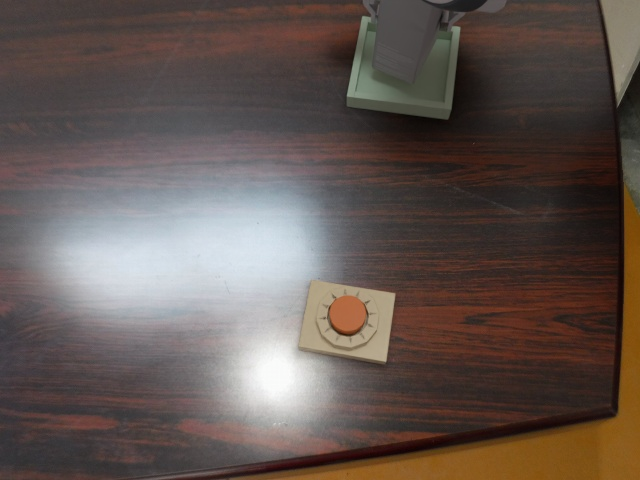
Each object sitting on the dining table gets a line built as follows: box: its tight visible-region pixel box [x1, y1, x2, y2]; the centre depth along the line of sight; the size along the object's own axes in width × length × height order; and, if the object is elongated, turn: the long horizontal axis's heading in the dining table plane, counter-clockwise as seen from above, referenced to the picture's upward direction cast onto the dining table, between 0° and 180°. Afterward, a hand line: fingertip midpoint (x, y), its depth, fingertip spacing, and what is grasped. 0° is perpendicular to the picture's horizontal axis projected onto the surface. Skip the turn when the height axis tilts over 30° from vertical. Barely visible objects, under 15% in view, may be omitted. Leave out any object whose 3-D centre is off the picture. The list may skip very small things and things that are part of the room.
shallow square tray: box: [346, 15, 461, 120], centre depth 75 cm, size 14×14×2 cm
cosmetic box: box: [372, 0, 446, 84], centre depth 66 cm, size 8×7×16 cm
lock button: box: [330, 295, 366, 334], centre depth 59 cm, size 4×4×2 cm
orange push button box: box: [297, 279, 396, 366], centre depth 61 cm, size 10×8×4 cm
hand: (411, 23), depth 67 cm, fingers closed on cosmetic box, 7 cm apart
